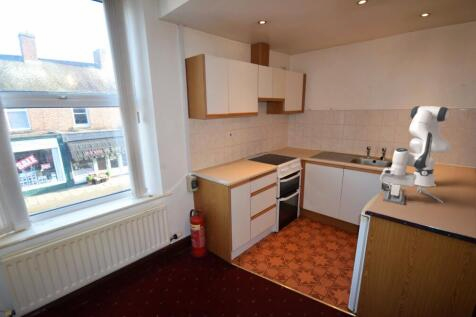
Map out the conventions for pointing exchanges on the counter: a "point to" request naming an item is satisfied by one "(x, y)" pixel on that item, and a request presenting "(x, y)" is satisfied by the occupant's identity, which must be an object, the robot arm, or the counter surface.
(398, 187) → the din module
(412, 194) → the counter surface
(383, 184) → the medicine bottle
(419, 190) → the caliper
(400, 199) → the din rail
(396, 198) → the rail base
